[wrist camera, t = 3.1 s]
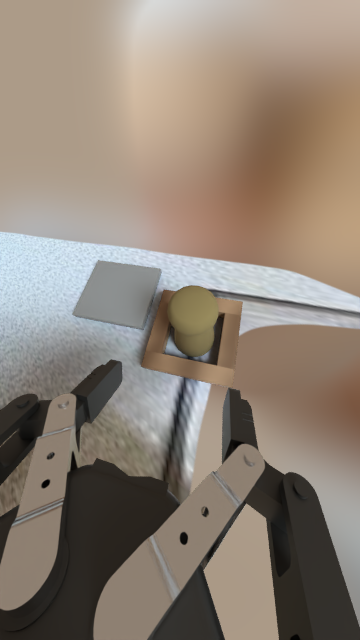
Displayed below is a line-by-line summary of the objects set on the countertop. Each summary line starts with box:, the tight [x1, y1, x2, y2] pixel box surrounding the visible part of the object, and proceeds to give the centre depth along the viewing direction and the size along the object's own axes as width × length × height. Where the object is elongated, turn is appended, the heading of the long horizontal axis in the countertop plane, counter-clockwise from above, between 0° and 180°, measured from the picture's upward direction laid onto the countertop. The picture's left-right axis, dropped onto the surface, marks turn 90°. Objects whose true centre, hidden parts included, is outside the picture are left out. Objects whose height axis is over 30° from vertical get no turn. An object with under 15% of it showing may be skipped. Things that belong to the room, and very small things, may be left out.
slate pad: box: [73, 260, 162, 330], centre depth 30 cm, size 12×11×1 cm
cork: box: [167, 286, 219, 357], centre depth 22 cm, size 6×6×11 cm
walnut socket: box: [141, 290, 243, 388], centre depth 26 cm, size 12×12×2 cm
